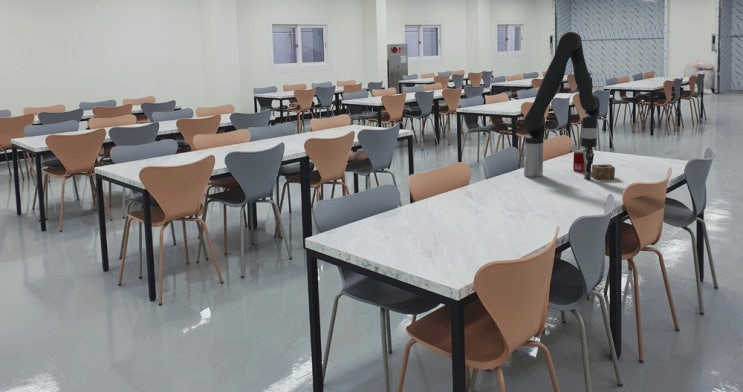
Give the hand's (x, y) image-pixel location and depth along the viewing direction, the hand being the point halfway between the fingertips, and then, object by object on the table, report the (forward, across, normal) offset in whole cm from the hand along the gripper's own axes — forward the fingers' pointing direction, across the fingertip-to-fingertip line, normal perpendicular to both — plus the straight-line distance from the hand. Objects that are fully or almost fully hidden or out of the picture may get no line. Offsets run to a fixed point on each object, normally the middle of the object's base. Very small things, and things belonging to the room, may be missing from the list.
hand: (587, 171), depth 323 cm
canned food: (+4, -21, +1) cm, 21 cm away
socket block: (+4, -2, +8) cm, 9 cm away
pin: (+4, 0, 0) cm, 4 cm away
